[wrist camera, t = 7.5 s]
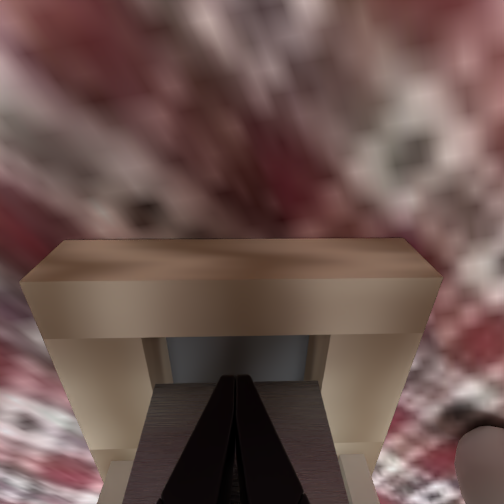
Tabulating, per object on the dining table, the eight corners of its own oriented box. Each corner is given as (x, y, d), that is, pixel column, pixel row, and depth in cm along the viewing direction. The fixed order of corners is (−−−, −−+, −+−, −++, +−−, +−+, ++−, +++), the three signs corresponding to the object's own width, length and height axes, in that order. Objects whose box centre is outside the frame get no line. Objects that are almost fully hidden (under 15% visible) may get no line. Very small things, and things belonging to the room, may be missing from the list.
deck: (159, 544, 27) (150, 594, 24) (64, 239, 13) (19, 282, 10) (322, 538, 27) (331, 587, 25) (403, 237, 13) (443, 277, 11)
